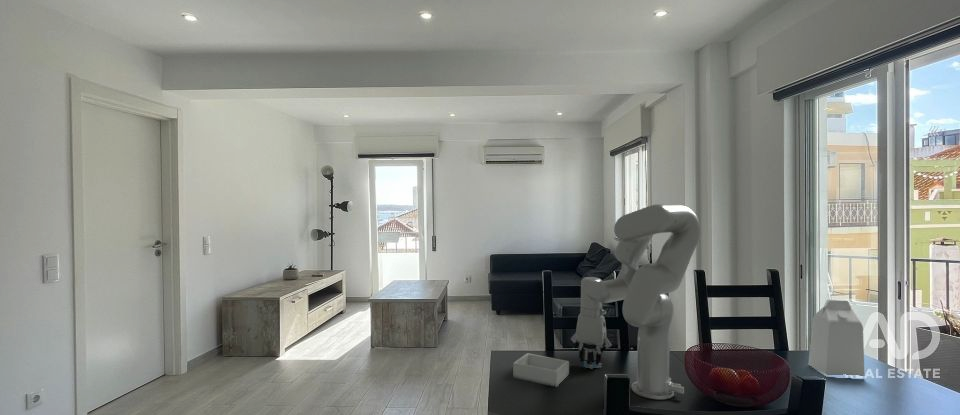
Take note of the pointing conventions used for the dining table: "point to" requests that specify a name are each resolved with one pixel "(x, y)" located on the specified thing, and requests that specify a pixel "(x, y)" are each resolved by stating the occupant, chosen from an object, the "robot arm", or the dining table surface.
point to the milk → (837, 340)
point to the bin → (541, 369)
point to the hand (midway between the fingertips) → (590, 361)
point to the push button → (590, 356)
